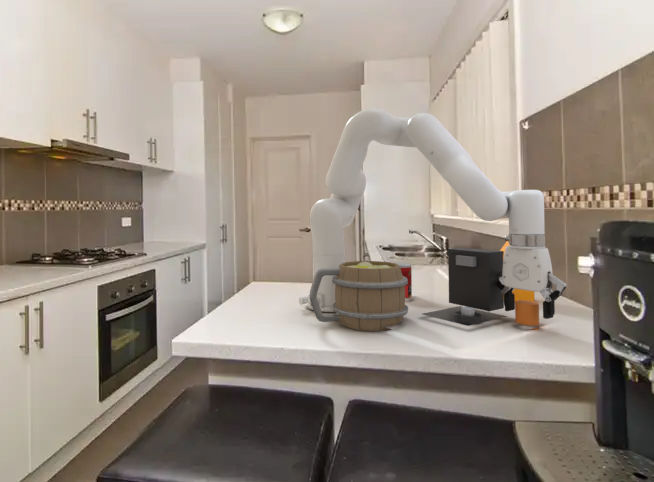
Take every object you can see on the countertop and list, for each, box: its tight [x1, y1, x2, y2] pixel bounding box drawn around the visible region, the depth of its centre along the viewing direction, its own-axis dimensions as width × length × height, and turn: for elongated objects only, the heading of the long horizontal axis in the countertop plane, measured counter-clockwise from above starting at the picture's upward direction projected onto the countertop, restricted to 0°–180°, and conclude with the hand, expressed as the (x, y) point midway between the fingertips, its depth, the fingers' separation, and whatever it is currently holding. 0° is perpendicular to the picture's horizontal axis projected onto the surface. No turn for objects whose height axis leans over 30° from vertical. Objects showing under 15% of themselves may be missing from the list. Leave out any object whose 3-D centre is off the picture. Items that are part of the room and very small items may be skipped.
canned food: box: [394, 262, 413, 299], centre depth 142 cm, size 8×8×11 cm
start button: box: [461, 306, 476, 316], centre depth 110 cm, size 3×3×2 cm
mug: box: [308, 260, 409, 332], centre depth 113 cm, size 19×25×15 cm
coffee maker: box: [447, 247, 505, 312], centre depth 119 cm, size 8×12×15 cm, turn 32°
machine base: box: [422, 305, 508, 327], centre depth 116 cm, size 16×14×3 cm
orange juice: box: [499, 241, 536, 302], centre depth 139 cm, size 8×9×20 cm
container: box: [514, 300, 540, 331], centre depth 108 cm, size 5×5×6 cm
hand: (528, 313), depth 108 cm, fingers open, 8 cm apart
